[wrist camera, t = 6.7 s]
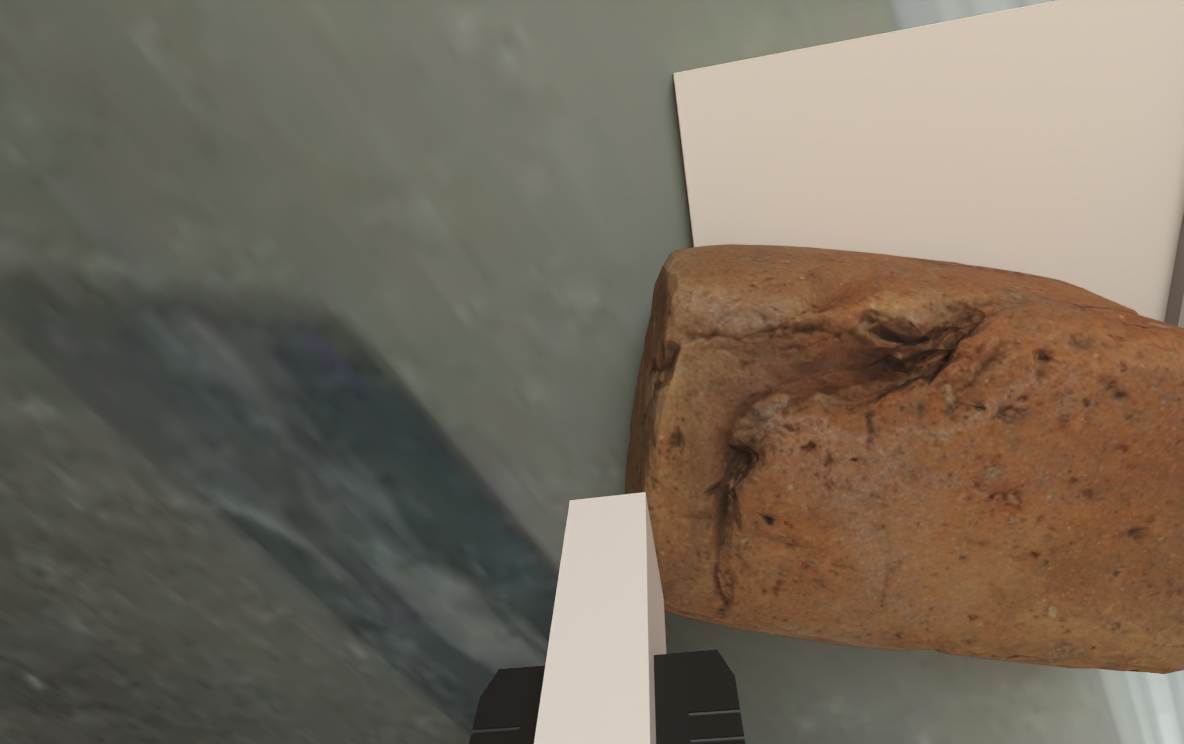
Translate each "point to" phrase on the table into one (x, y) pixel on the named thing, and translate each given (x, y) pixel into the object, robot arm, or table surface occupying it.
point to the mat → (960, 147)
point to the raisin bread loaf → (913, 457)
